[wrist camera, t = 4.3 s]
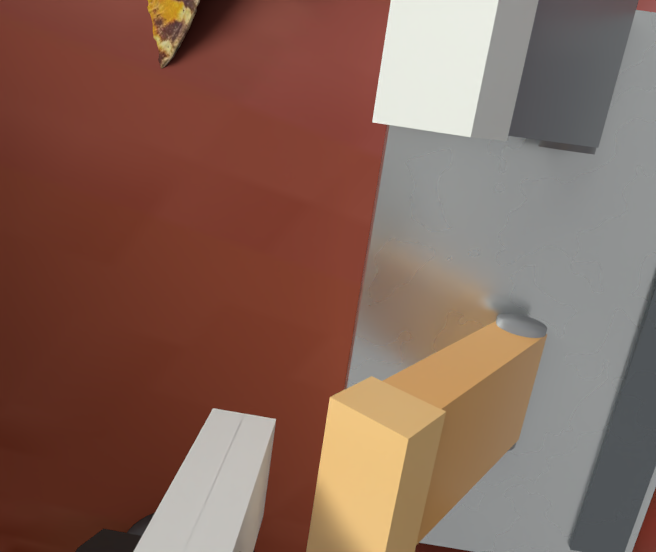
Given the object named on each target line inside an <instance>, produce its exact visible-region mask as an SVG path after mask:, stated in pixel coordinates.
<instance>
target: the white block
mask: <svg viewBox="0 0 656 552" xmlns="http://www.w3.org/2000/svg"><path fill="white" fill-rule="evenodd" d="M637 4H638V0H391V4H390V10H389V17H388V23H387V30H386V36H385V43H384V49H383V56H382V62H381V69H380V75H379V82H378V88H377V95H376V101H375V108H374V114H373V121H372V122H374V123H380V124H387V125H393V126H400V127H407V128H413V129H420V130H426V131H433V132H439V133H446V134H452V135H459V136H465V137H473V138H481V139H490V140H499V141H507V139H508V136H513V137H521V138H528V139H536V140H540V141H539V145H538V146H540V147H545V148H552V149H558V150H565V151H572V152H579V153H586V154H594V155H595V151H596V148H598V147H599V143H600V140H601V136H602V132H603V129H604V125H605V121H606V118H607V114H608V110H609V107H610V103H611V99H612V96H613V92H614V88H615V85H616V81H617V77H618V74H619V70H620V66H621V63H622V59H623V55H624V52H625V48H626V44H627V41H628V37H629V33H630V30H631V26H632V22H633V19H634V15H635V11H636V8H637Z"/></svg>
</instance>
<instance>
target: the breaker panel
mask: <svg viewBox="0 0 656 552" xmlns="http://www.w3.org/2000/svg"><path fill="white" fill-rule="evenodd" d="M539 141H540V140H536V139H528V138H521V137H513V136H508V139H507V141H499V140H490V139H481V138H473V137H465V136H459V135H452V134H446V133H439V132H433V131H426V130H420V129H413V128H407V127H400V126H393V125H387V128H386V134H385V140H384V146H383V153H382V159H381V165H380V171H379V177H378V184H377V190H376V196H375V202H374V208H373V214H372V221H371V227H370V233H369V239H368V245H367V252H366V258H365V264H364V270H363V276H362V283H361V289H360V295H359V301H358V307H357V314H356V320H355V326H354V332H353V338H352V345H351V351H350V357H349V363H348V369H347V376H346V382H345V388H344V390H345V389H347V388H349V387H351V386H353V385H355V384H357V383H359V382H361V381H363V380H365V379H367V378H369V377H371V376H372V377H375V378H377V379H379V380H381V381H383V380H385V379H387V378H389V377H391V376H392V375H394V374H396V373H398V372H400V371H402V370H404V369H406V368H408V367H409V366H411V365H413V364H415V363H417V362H419V361H421V360H423V359H425V358H427V357H428V356H430V355H432V354H434V353H436V352H438V351H440V350H442V349H444V348H445V347H447V346H449V345H451V344H453V343H455V342H457V341H459V340H461V339H462V338H464V337H466V336H468V335H470V334H472V333H474V332H476V331H478V330H480V329H481V328H483V327H485V326H487V325H489V324H491V323H493V322H495V321H496V319H497V316H498V315H499V314H502V313H513V314H519V315H524V316H527V317H530V318H533V319H536V320H538V321H540V322H542V323H543V324H545V325H546V327H547V332H546V334H547V338H546V341H545V345H544V349H543V352H542V356H541V360H540V363H539V367H538V371H537V374H536V378H535V382H534V385H533V389H532V393H531V396H530V400H529V404H528V407H527V411H526V415H525V418H524V422H523V426H522V429H521V433H520V437H519V440H518V441H517V442H516V446H515V448H514V449H512V450H509V451H507V452H506V453H505V454H504V455H503V456H502V457H501V458H500V460H499V461H498V462H497V463H496V464H495V465H494V466H493V467H492V468H491V469H490V470H489V471H488V472H487V473H486V474H485V475H484V476H483V477H482V478H481V479H480V480H479V481H478V482H477V483H476V484H475V485H474V486H473V487H472V488H471V489H470V491H469V492H468V493H467V494H466V495H465V496H464V497H463V498H462V499H461V500H460V501H459V502H458V503H457V504H456V505H455V506H454V507H453V508H452V509H451V510H450V511H449V512H448V513H447V514H446V515H445V516H444V517H443V518H442V519H441V520H440V521H439V523H438V524H437V525H436V526H435V527H434V528H433V529H432V530H431V531H430V532H429V533H428V534H427V535H426V536H425V537H424V538H423V539H422V540H421V541H420V542H419V543H425V544H431V545H437V546H443V547H449V548H455V549H461V550H467V551H473V552H632V550H633V547H634V545H635V542H636V539H637V537H638V534H639V531H640V528H641V526H642V523H643V520H644V517H645V515H646V512H647V509H648V507H649V504H650V501H651V498H652V496H653V493H654V490H655V487H656V13H654V12H647V11H639V10H636V11H635V15H634V19H633V22H632V26H631V30H630V33H629V37H628V41H627V44H626V48H625V52H624V55H623V59H622V63H621V66H620V70H619V74H618V77H617V81H616V85H615V88H614V92H613V96H612V99H611V103H610V107H609V110H608V114H607V118H606V121H605V125H604V129H603V132H602V136H601V140H600V143H599V147H598V148H596V151H595V155H594V154H586V153H579V152H572V151H565V150H558V149H552V148H545V147H540V146H538V145H539Z"/></svg>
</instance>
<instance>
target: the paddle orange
mask: <svg viewBox="0 0 656 552" xmlns="http://www.w3.org/2000/svg"><path fill="white" fill-rule="evenodd" d="M546 332H547V327H546V325H545V324H543V323H542V322H540V321H538V320H536V319H533V318H530V317H527V316H524V315H519V314H513V313H502V314H499V315H498V316H497V319H496V321H495V322H493V323H491V324H489V325H487V326H485V327H483V328H481V329H480V330H478V331H476V332H474V333H472V334H470V335H468V336H466V337H464V338H462V339H461V340H459V341H457V342H455V343H453V344H451V345H449V346H447V347H445V348H444V349H442V350H440V351H438V352H436V353H434V354H432V355H430V356H428V357H427V358H425V359H423V360H421V361H419V362H417V363H415V364H413V365H411V366H409V367H408V368H406V369H404V370H402V371H400V372H398V373H396V374H394V375H392V376H391V377H389V378H387V379H385V380H383V381H381V380H379V379H377V378H375V377H372V376H371V377H369V378H367V379H365V380H363V381H361V382H359V383H357V384H355V385H353V386H351V387H349V388H347V389H345V390H343V391H341V392H339V393H337V394H335V395H333V396H331V397H330V401H329V407H328V414H327V420H326V427H325V433H324V440H323V446H322V453H321V459H320V466H319V472H318V479H317V485H316V492H315V498H314V505H313V511H312V518H311V524H310V531H309V537H308V544H307V550H306V552H415V548H416V545H417V544H418V543H419V542H420V541H421V540H422V539H423V538H424V537H425V536H426V535H427V534H428V533H429V532H430V531H431V530H432V529H433V528H434V527H435V526H436V525H437V524H438V523H439V521H440V520H441V519H442V518H443V517H444V516H445V515H446V514H447V513H448V512H449V511H450V510H451V509H452V508H453V507H454V506H455V505H456V504H457V503H458V502H459V501H460V500H461V499H462V498H463V497H464V496H465V495H466V494H467V493H468V492H469V491H470V489H471V488H472V487H473V486H474V485H475V484H476V483H477V482H478V481H479V480H480V479H481V478H482V477H483V476H484V475H485V474H486V473H487V472H488V471H489V470H490V469H491V468H492V467H493V466H494V465H495V464H496V463H497V462H498V461H499V460H500V458H501V457H502V456H503V455H504V454H505V453H506V452H507V451H509V450H512V449H514V448H515V446H516V442H517V441H518V440H519V437H520V433H521V429H522V426H523V422H524V418H525V415H526V411H527V407H528V404H529V400H530V396H531V393H532V389H533V385H534V382H535V378H536V374H537V371H538V367H539V363H540V360H541V356H542V352H543V349H544V345H545V341H546V338H547V334H546Z"/></svg>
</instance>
